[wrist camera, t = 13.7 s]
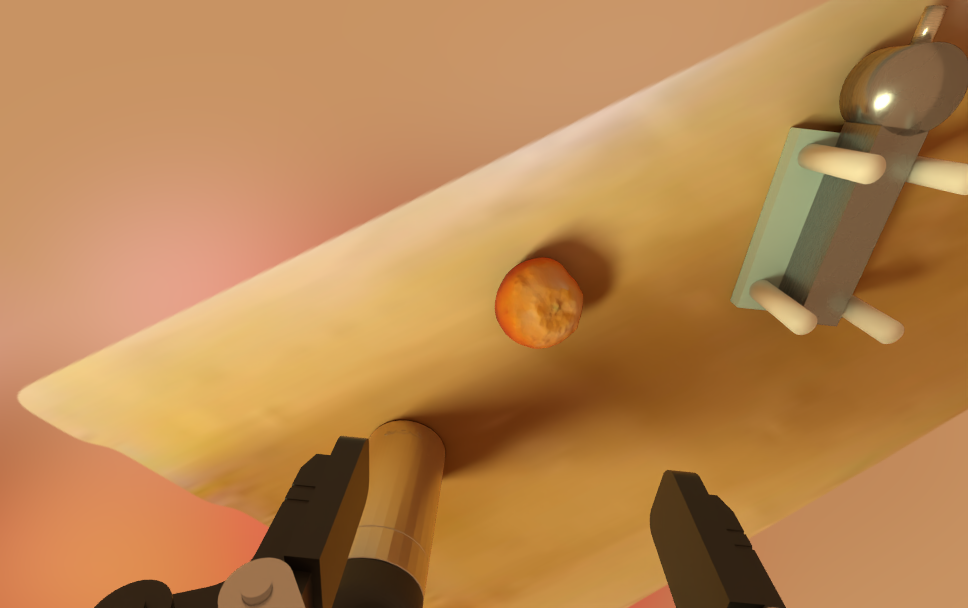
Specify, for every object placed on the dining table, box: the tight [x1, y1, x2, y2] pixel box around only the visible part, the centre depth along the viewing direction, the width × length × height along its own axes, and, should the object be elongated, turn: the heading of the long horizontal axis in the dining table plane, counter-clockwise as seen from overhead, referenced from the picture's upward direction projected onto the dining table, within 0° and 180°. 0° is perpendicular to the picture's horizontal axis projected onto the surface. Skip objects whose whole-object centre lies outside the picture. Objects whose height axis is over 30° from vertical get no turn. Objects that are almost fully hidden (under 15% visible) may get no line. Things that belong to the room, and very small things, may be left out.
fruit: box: [495, 257, 583, 349], centre depth 44 cm, size 8×8×8 cm
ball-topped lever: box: [778, 5, 968, 326], centre depth 38 cm, size 24×6×4 cm, turn 174°
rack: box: [730, 127, 968, 344], centre depth 39 cm, size 16×10×8 cm, turn 174°
